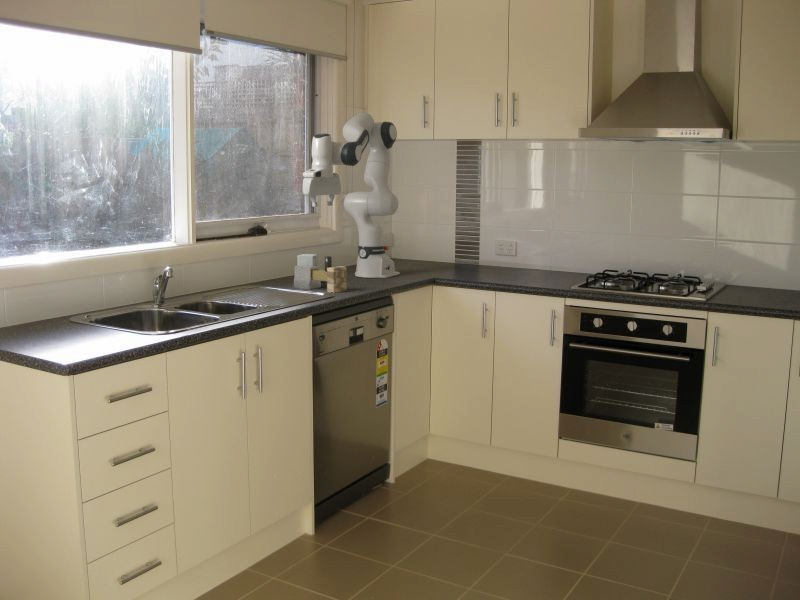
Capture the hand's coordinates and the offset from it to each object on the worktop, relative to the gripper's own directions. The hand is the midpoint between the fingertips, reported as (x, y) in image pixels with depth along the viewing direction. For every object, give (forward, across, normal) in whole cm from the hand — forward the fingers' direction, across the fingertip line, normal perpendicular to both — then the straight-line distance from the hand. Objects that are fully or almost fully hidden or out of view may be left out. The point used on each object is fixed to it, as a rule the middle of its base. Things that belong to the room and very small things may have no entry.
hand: (322, 206), depth 367 cm
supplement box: (+34, -2, -11) cm, 36 cm away
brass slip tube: (+30, +7, +7) cm, 32 cm away
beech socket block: (+34, +7, +14) cm, 38 cm away
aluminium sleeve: (+34, +7, -3) cm, 35 cm away
